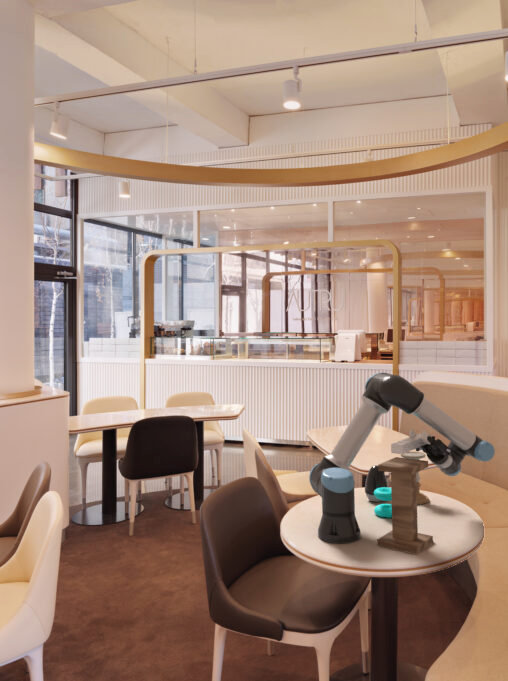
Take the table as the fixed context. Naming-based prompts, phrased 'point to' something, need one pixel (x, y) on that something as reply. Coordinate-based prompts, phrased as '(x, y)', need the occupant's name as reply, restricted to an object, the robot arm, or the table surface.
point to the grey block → (408, 444)
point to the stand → (404, 506)
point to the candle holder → (417, 475)
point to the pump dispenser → (375, 483)
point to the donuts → (385, 495)
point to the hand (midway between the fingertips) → (416, 433)
